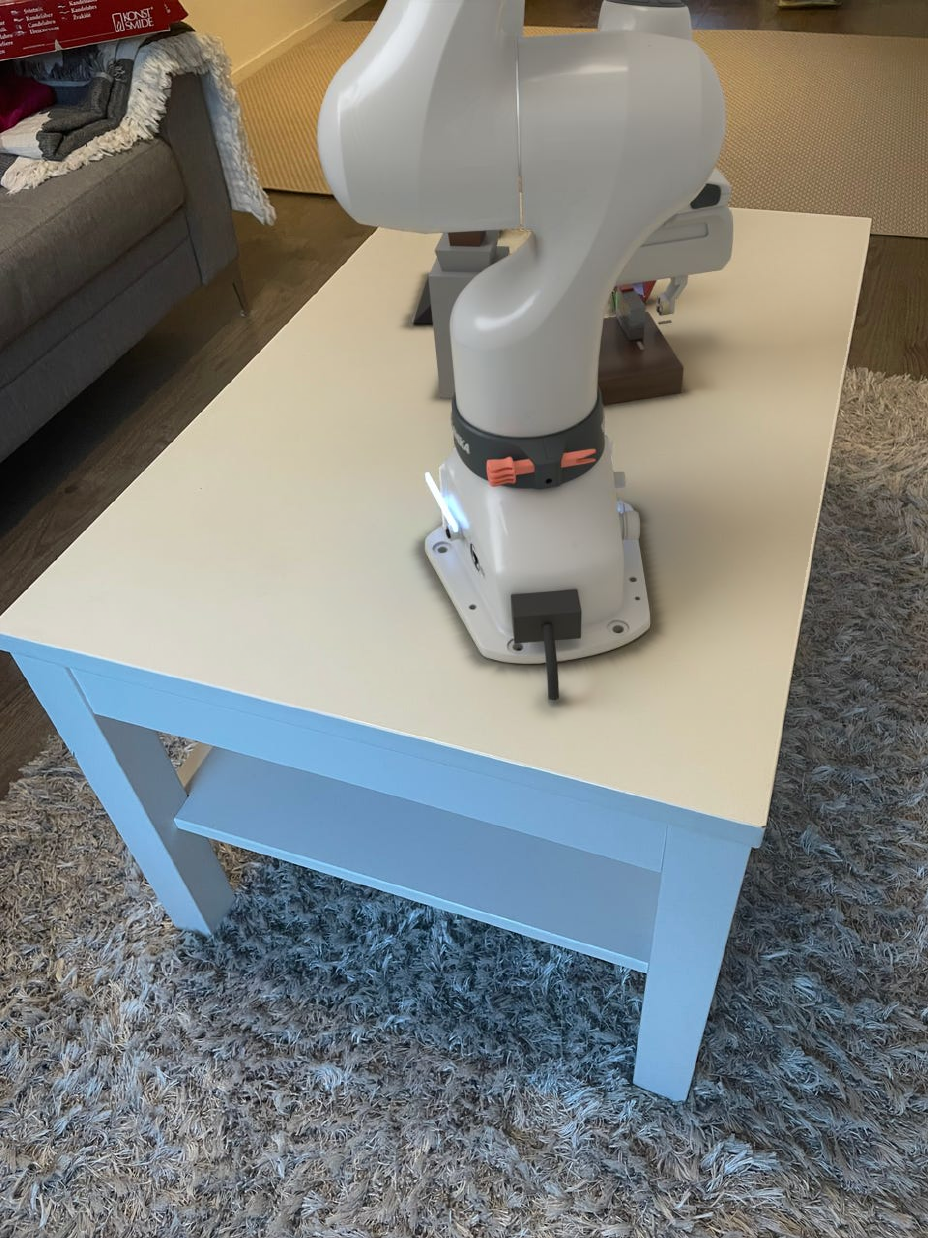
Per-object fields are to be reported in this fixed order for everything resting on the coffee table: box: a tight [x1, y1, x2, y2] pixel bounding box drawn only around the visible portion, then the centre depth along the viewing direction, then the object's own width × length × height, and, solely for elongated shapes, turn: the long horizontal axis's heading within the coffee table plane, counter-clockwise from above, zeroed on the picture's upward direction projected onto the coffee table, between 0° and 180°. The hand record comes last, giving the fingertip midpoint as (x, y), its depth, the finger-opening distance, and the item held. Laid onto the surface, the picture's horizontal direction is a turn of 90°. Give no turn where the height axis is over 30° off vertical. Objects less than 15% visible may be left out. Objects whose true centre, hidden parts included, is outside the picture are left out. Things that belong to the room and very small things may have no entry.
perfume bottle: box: [427, 230, 511, 399], centre depth 97 cm, size 7×7×18 cm
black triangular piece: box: [411, 257, 437, 327], centre depth 115 cm, size 12×7×5 cm, turn 173°
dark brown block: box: [598, 307, 685, 406], centre depth 103 cm, size 14×12×3 cm
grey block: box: [615, 284, 647, 340], centre depth 102 cm, size 5×2×4 cm, turn 10°
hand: (628, 318), depth 103 cm, fingers open, 7 cm apart
